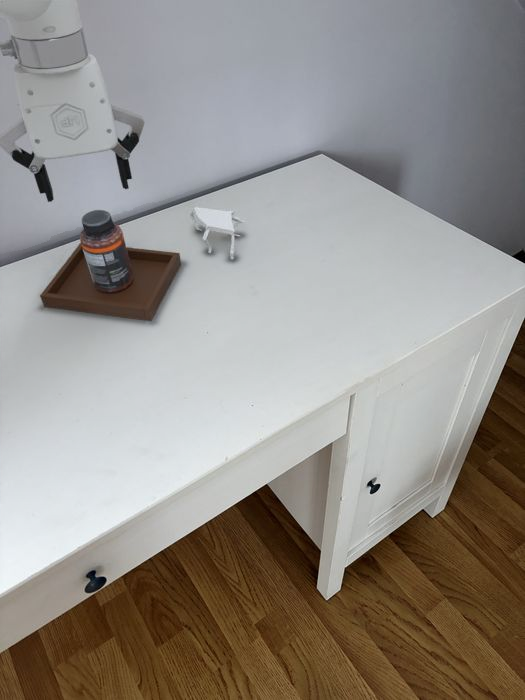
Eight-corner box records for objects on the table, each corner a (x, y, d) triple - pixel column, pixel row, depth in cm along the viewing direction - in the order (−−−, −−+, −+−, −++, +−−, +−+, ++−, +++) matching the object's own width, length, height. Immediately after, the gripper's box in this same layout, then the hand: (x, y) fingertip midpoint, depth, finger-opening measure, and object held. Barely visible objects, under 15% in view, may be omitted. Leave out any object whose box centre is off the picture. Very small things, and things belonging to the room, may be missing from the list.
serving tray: (44, 307, 82) (39, 295, 81) (84, 253, 92) (80, 242, 90) (151, 321, 80) (148, 309, 78) (181, 264, 89) (179, 252, 87)
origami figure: (260, 238, 93) (259, 212, 90) (231, 265, 88) (229, 238, 85) (202, 219, 98) (199, 193, 95) (171, 243, 93) (167, 217, 90)
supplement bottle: (114, 265, 88) (97, 201, 80) (142, 278, 86) (127, 212, 78) (85, 286, 85) (65, 220, 77) (114, 299, 82) (95, 233, 74)
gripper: (-34, 69, 58) (19, 216, 70) (135, 49, 61) (158, 193, 73) (-30, 47, 63) (19, 188, 75) (125, 31, 67) (148, 167, 79)
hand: (88, 190), depth 74 cm, fingers open, 9 cm apart
